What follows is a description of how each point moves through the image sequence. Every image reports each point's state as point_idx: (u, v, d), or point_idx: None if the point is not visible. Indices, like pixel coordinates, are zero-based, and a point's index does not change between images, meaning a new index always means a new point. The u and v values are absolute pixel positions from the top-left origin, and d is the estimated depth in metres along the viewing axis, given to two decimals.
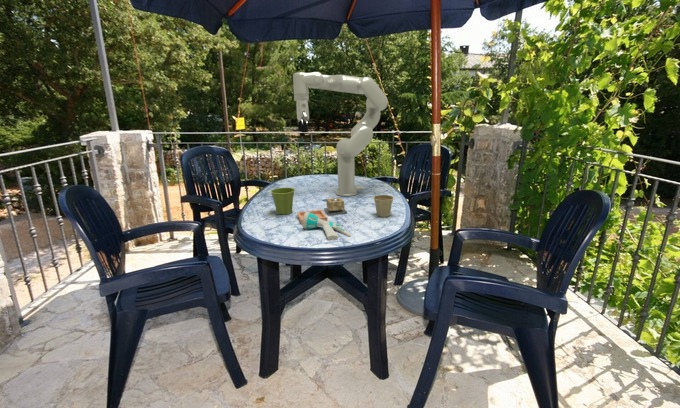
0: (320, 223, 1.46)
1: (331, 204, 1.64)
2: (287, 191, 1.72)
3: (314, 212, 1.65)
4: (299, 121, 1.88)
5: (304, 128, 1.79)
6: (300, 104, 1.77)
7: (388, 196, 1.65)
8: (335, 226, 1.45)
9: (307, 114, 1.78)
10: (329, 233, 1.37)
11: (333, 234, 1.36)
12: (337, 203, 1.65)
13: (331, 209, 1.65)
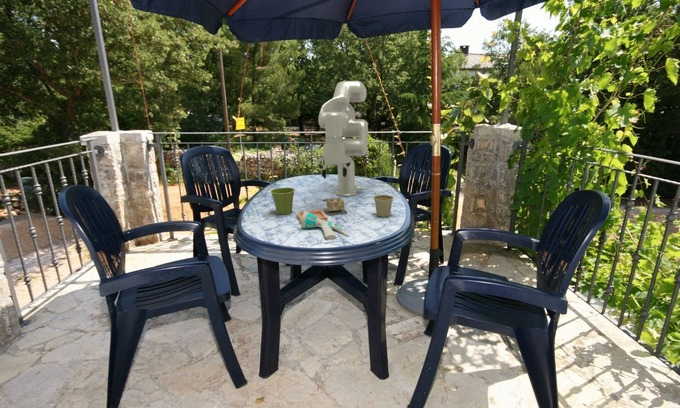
0: (319, 223, 1.46)
1: (331, 204, 1.64)
2: (287, 191, 1.72)
3: (314, 212, 1.65)
4: (325, 167, 1.61)
5: None
6: (344, 147, 1.60)
7: (388, 196, 1.65)
8: (334, 226, 1.45)
9: None
10: (328, 232, 1.38)
11: (331, 234, 1.37)
12: (337, 203, 1.65)
13: (331, 209, 1.65)
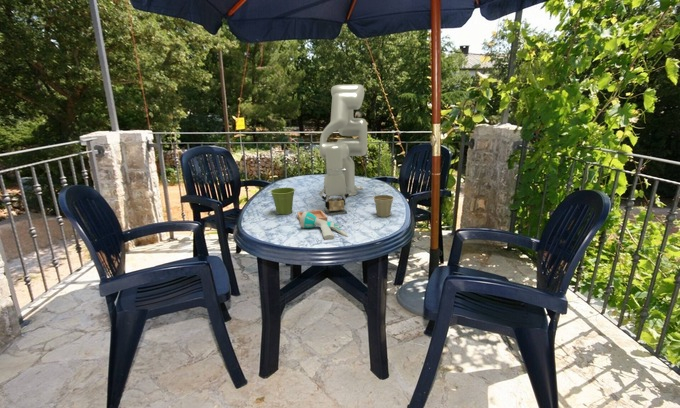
0: (318, 222, 1.46)
1: (331, 204, 1.64)
2: (287, 191, 1.72)
3: (314, 212, 1.65)
4: (328, 198, 1.66)
5: None
6: (344, 178, 1.65)
7: (388, 196, 1.65)
8: (333, 226, 1.45)
9: None
10: (326, 232, 1.38)
11: (329, 234, 1.37)
12: (337, 203, 1.65)
13: (331, 209, 1.65)
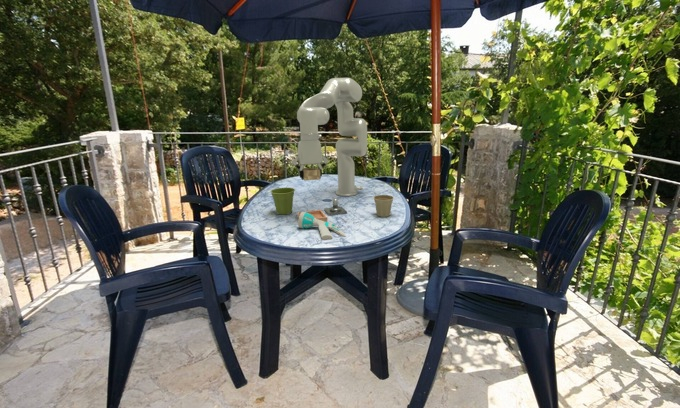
0: (316, 223, 1.46)
1: (305, 173, 1.50)
2: (287, 191, 1.72)
3: (314, 212, 1.65)
4: (302, 167, 1.51)
5: None
6: (320, 145, 1.50)
7: (388, 196, 1.65)
8: (330, 226, 1.45)
9: None
10: (324, 232, 1.38)
11: (327, 234, 1.36)
12: (312, 172, 1.50)
13: (306, 179, 1.50)
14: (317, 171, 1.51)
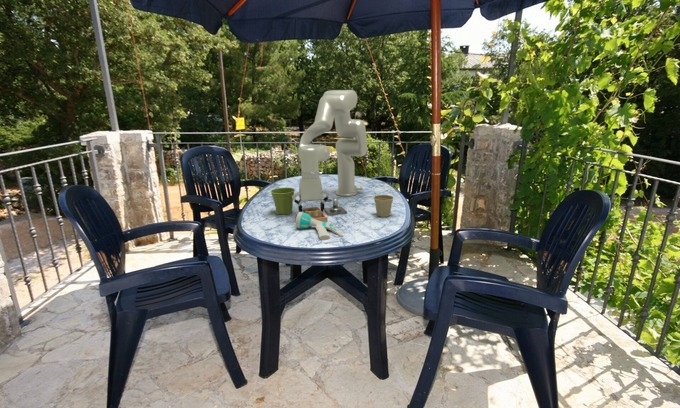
0: (313, 223, 1.46)
1: None
2: (287, 191, 1.72)
3: None
4: None
5: None
6: (320, 182, 1.55)
7: (388, 196, 1.65)
8: (328, 226, 1.45)
9: None
10: (322, 232, 1.38)
11: (325, 234, 1.36)
12: (313, 213, 1.56)
13: None
14: (318, 212, 1.56)
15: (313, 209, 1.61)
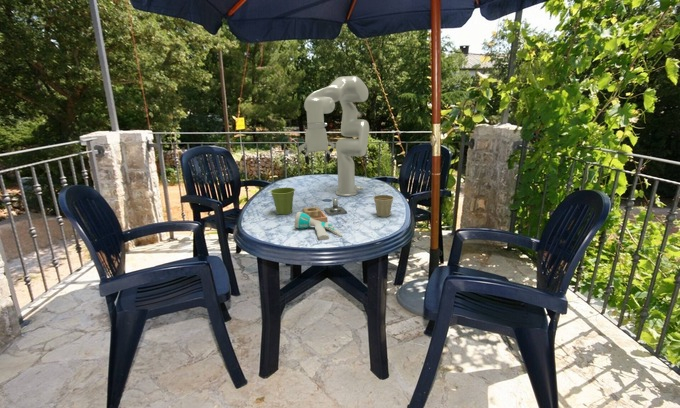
0: (312, 223, 1.46)
1: (307, 214, 1.55)
2: (287, 191, 1.72)
3: None
4: (308, 153, 1.61)
5: None
6: (326, 133, 1.59)
7: (388, 196, 1.65)
8: (327, 226, 1.45)
9: None
10: (320, 232, 1.38)
11: (324, 234, 1.36)
12: (313, 213, 1.56)
13: None
14: (318, 212, 1.56)
15: (313, 209, 1.61)
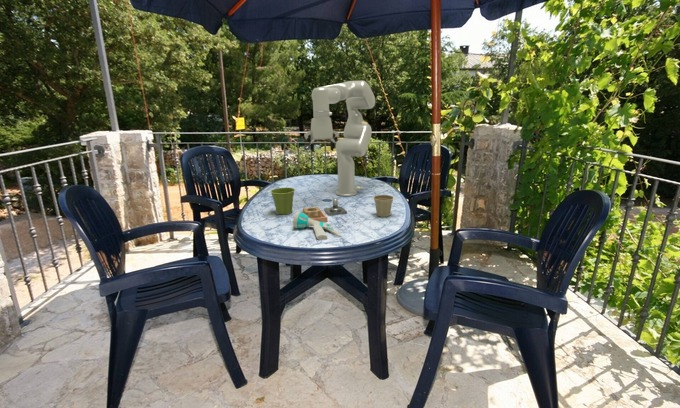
0: (310, 223, 1.46)
1: (307, 214, 1.55)
2: (287, 191, 1.72)
3: None
4: (313, 141, 1.68)
5: None
6: None
7: (388, 196, 1.65)
8: (325, 226, 1.45)
9: None
10: (319, 232, 1.38)
11: (322, 234, 1.37)
12: (313, 213, 1.56)
13: None
14: (318, 212, 1.56)
15: (313, 209, 1.61)
